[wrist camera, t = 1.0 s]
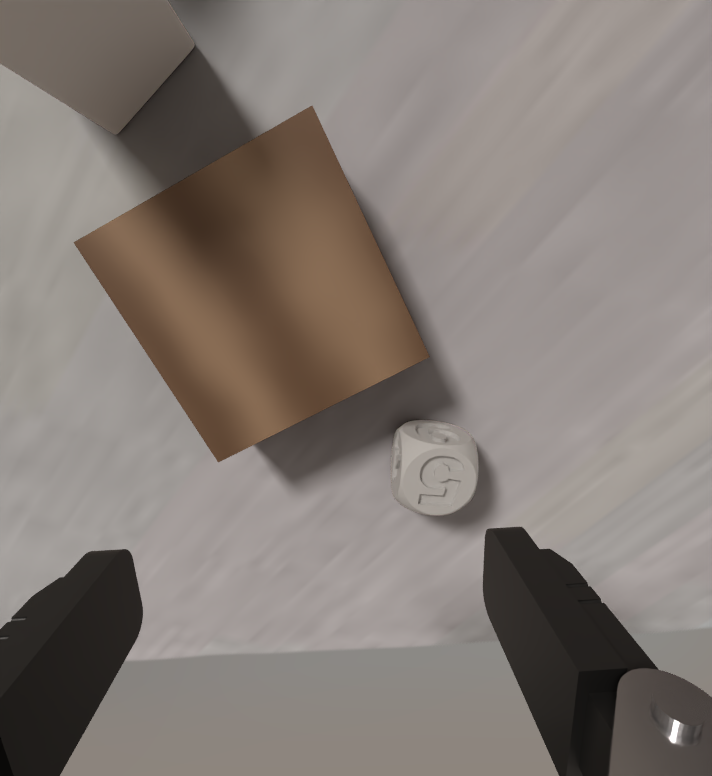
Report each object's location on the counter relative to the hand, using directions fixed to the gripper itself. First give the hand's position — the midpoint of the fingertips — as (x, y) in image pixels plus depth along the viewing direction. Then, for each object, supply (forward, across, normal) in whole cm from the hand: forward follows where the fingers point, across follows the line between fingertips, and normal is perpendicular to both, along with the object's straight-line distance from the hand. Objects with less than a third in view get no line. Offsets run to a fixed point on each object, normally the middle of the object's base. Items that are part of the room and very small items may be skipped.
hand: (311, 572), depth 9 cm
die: (+21, -7, +6) cm, 23 cm away
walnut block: (+21, +3, -5) cm, 22 cm away
